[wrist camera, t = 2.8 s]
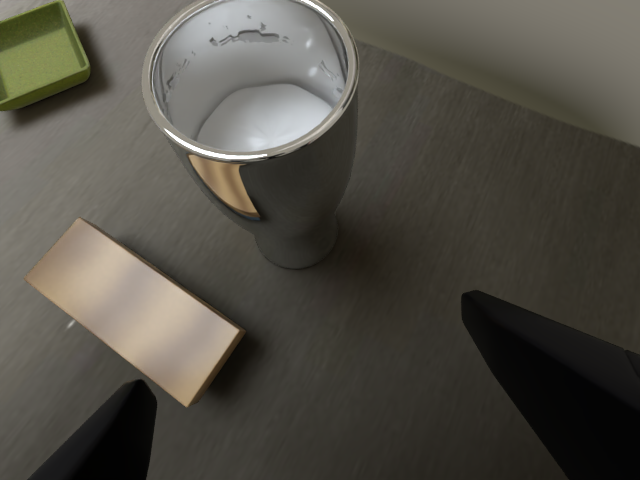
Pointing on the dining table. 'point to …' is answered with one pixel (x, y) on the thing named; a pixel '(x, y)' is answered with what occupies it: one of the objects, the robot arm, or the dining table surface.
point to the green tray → (39, 56)
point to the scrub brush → (137, 310)
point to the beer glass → (261, 115)
